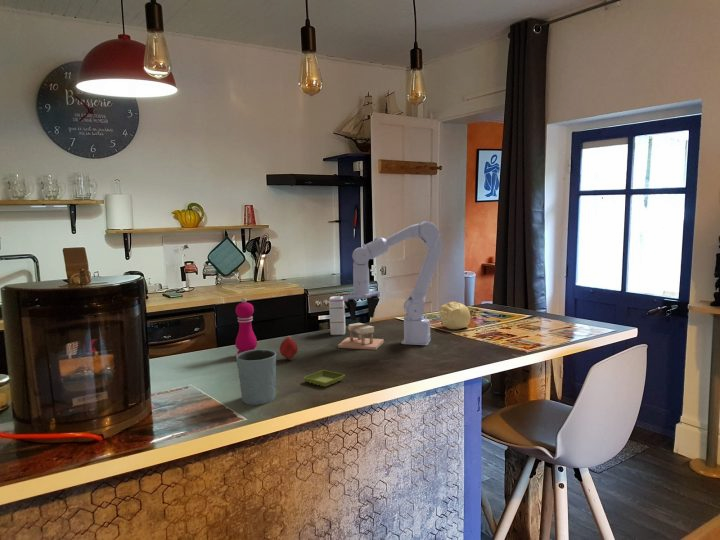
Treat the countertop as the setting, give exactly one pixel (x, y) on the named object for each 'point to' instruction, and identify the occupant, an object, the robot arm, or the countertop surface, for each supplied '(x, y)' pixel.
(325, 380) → the saucer
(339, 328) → the syrup box
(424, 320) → the robot arm
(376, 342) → the board
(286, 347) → the pomegranate
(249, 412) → the countertop surface
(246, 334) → the pepper mill
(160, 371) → the countertop surface
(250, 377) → the grey cup
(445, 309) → the pale yellow round lump
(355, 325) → the stool
